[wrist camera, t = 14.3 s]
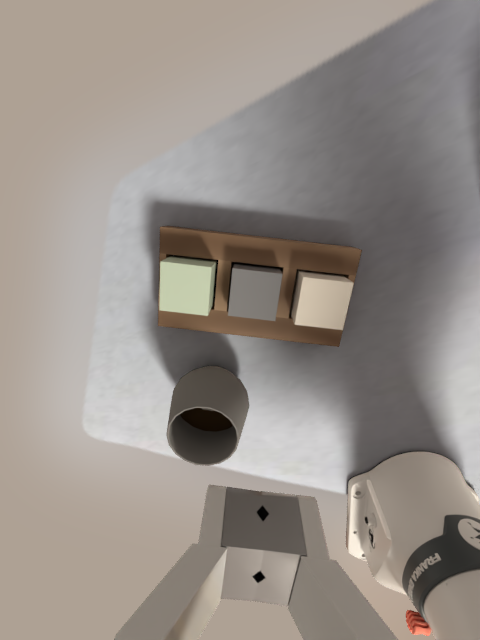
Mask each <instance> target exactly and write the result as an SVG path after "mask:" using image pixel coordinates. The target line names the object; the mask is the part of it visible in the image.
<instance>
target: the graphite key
mask: <svg viewBox="0 0 480 640" xmlns="http://www.w3.org/2000/svg"><path fill="white" fill-rule="evenodd" d="M281 281H282V272H281V270H280V268H279V267H275V266H266V265H258V264H249V263H240V262H235V263H234V266H233V269H232V279H231V289H230V299H229V309H228V316H235V317H244V318H253V319H261V320H270V321H275V319H276V313H277V306H278V300H279V294H280V287H281Z"/></svg>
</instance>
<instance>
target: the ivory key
mask: <svg viewBox="0 0 480 640" xmlns="http://www.w3.org/2000/svg"><path fill="white" fill-rule="evenodd" d="M353 284H354V283H353V282H352V281H350V280H349V279H347V278H346V277H344V276H343V275H341V274H332V273H324V272H315V271H306V270H298V269H297V273H296V278H295V284H294V290H293V296H292V302H291V308H290V314H291V316H292V319H293V322H294V324H295V325H302V326H311V327H320V328H328V329H337V330H343V327H344V322H345V318H346V314H347V310H348V305H349V301H350V297H351V293H352V289H353Z"/></svg>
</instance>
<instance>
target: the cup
mask: <svg viewBox="0 0 480 640" xmlns="http://www.w3.org/2000/svg"><path fill="white" fill-rule="evenodd" d="M248 409H249V401H248V393H247V391H246V389H245V387H244V385H243V384H242V382H241V380H240V379H238V378H237V377H236V376H235V375H234V374H232V373H231V372H230V371H228V370H226V369H224V368H221V367H219V366H206V367H202V368H198V369H194V370H192V371H190V372H189V373H188V374H186V375H185V376H183V377H182V378H181V379H180V381H179V382H178V384H177V385H176V387H175V388H174V390H173V396H172V401H171V408H170V415H169V421H168V428H167V439H168V443H169V445H170V447H171V448H172V450H173V451H174V452H175V454H176V455H178V456H179V457H180V458H182V459H183V460H185V461H187V462H190V463H193V464H195V465H205V466H210V465H214V464H219V463H221V462H223V461H225V460H227V459H228V458H230V457H231V455H232V454H233V453H234V452H235V451H236V449H237V446H238V443H239V439H240V436H241V433H242V429H243V426H244V423H245V420H246V416H247V412H248Z"/></svg>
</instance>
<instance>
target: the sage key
mask: <svg viewBox="0 0 480 640" xmlns="http://www.w3.org/2000/svg"><path fill="white" fill-rule="evenodd" d="M216 263H217V261H214V260H206V259H197V258H188V257H180V256H170V257H168V258H166V259H164V260H162V261H160V302H159V310H161V311H170V312H178V313H187V314H196V315H204V316H208V314H209V312H210V310H211V308H212V305H213V299H214V287H215V275H216Z"/></svg>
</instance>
